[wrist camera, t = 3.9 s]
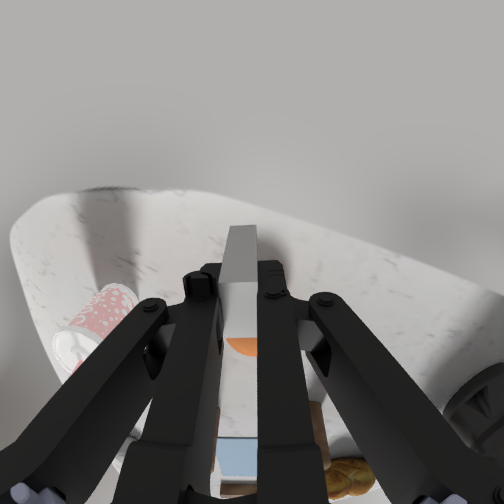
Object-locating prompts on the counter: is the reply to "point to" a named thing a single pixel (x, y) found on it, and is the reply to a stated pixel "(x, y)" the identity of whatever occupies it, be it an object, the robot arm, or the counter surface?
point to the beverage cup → (92, 325)
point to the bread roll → (348, 477)
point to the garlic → (124, 449)
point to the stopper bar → (236, 490)
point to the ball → (244, 345)
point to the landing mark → (237, 456)
